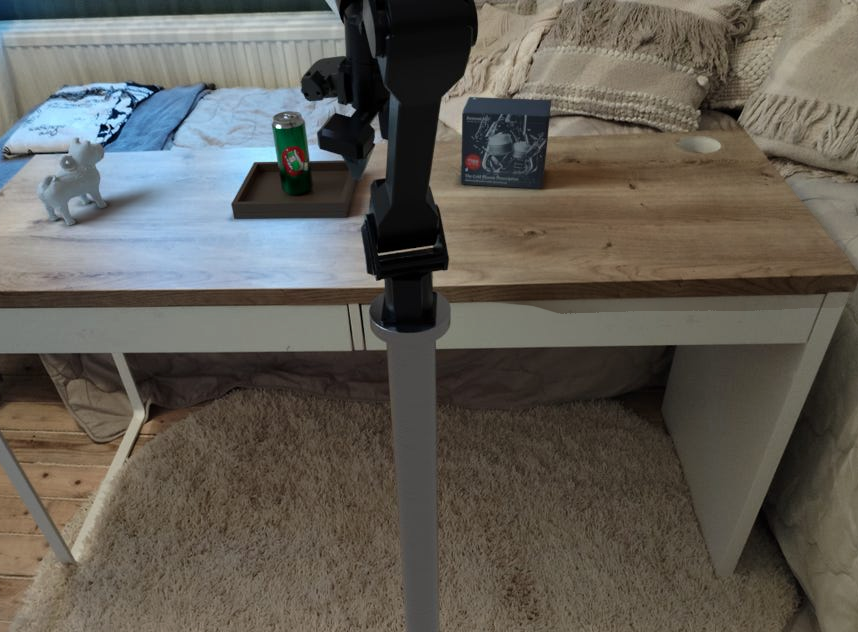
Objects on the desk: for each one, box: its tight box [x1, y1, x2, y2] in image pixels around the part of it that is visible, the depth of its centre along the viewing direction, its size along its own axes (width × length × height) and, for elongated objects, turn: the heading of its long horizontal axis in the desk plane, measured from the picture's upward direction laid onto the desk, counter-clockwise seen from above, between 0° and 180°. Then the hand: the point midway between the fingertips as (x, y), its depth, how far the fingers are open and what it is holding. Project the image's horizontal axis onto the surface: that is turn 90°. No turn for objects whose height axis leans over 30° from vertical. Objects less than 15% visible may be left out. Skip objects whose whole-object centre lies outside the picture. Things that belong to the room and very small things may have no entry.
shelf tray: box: [230, 159, 357, 220], centre depth 114 cm, size 16×18×2 cm
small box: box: [460, 96, 552, 190], centre depth 111 cm, size 13×7×12 cm, turn 76°
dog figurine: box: [36, 137, 108, 226], centre depth 112 cm, size 5×13×11 cm, turn 152°
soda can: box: [271, 110, 313, 195], centre depth 110 cm, size 5×5×12 cm
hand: (371, 158), depth 96 cm, fingers open, 9 cm apart
